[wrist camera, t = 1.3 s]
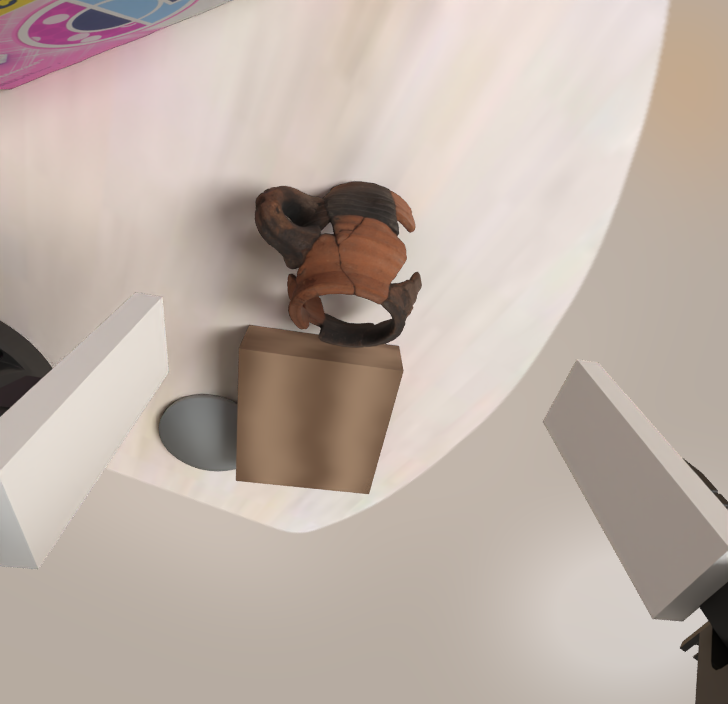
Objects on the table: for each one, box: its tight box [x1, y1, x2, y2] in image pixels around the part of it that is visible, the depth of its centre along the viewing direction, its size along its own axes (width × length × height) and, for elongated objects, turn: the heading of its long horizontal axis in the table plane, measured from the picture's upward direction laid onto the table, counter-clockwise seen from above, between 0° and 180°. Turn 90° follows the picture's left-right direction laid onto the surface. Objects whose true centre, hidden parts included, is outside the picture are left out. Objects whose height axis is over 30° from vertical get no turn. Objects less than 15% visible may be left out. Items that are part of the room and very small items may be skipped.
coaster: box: [159, 394, 238, 471], centre depth 38 cm, size 9×9×1 cm
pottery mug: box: [255, 182, 422, 348], centre depth 27 cm, size 12×9×8 cm
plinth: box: [236, 325, 403, 494], centre depth 35 cm, size 12×14×4 cm
